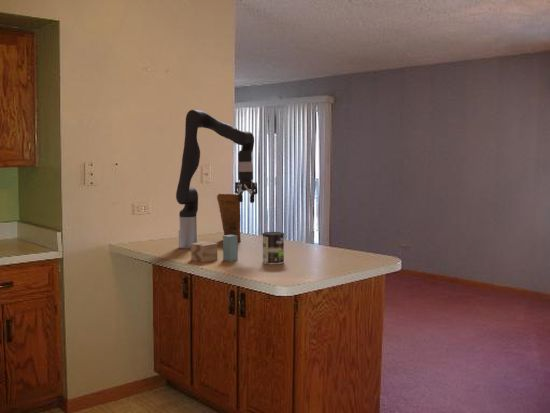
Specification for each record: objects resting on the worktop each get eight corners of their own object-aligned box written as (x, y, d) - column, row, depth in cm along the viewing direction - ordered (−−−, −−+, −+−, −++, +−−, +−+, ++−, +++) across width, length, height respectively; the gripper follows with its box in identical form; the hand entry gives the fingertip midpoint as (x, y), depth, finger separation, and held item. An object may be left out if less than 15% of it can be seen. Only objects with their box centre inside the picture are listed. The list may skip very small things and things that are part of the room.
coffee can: (288, 261, 271) (288, 232, 270) (276, 265, 263) (276, 235, 261) (270, 259, 277) (269, 231, 275) (258, 263, 268) (258, 233, 267)
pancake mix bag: (236, 243, 328) (235, 194, 325) (216, 239, 342) (215, 193, 339) (245, 242, 332) (244, 194, 329) (225, 238, 346) (224, 192, 343)
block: (191, 259, 277) (190, 243, 276) (205, 257, 283) (205, 241, 283) (203, 262, 271) (203, 245, 270) (217, 259, 277) (217, 243, 277)
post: (223, 260, 276) (222, 235, 275) (230, 258, 280) (230, 234, 279) (230, 261, 273) (230, 236, 272) (237, 259, 277) (237, 235, 275)
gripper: (230, 171, 292) (231, 202, 294) (249, 170, 282) (250, 203, 284) (241, 170, 298) (242, 201, 299) (260, 170, 288) (261, 202, 289)
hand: (246, 202), depth 291 cm, fingers open, 8 cm apart
